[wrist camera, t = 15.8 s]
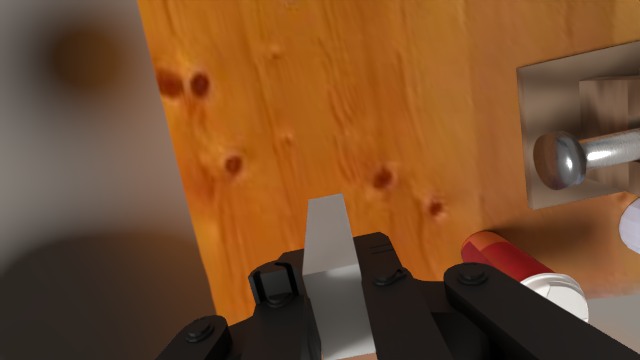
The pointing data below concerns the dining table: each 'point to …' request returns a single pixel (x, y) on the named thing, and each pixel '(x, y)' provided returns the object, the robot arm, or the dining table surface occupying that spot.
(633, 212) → the soap bottle
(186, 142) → the dining table surface
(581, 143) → the shaft
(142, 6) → the dining table surface
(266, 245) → the dining table surface
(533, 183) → the block
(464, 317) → the robot arm
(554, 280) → the coffee cup
